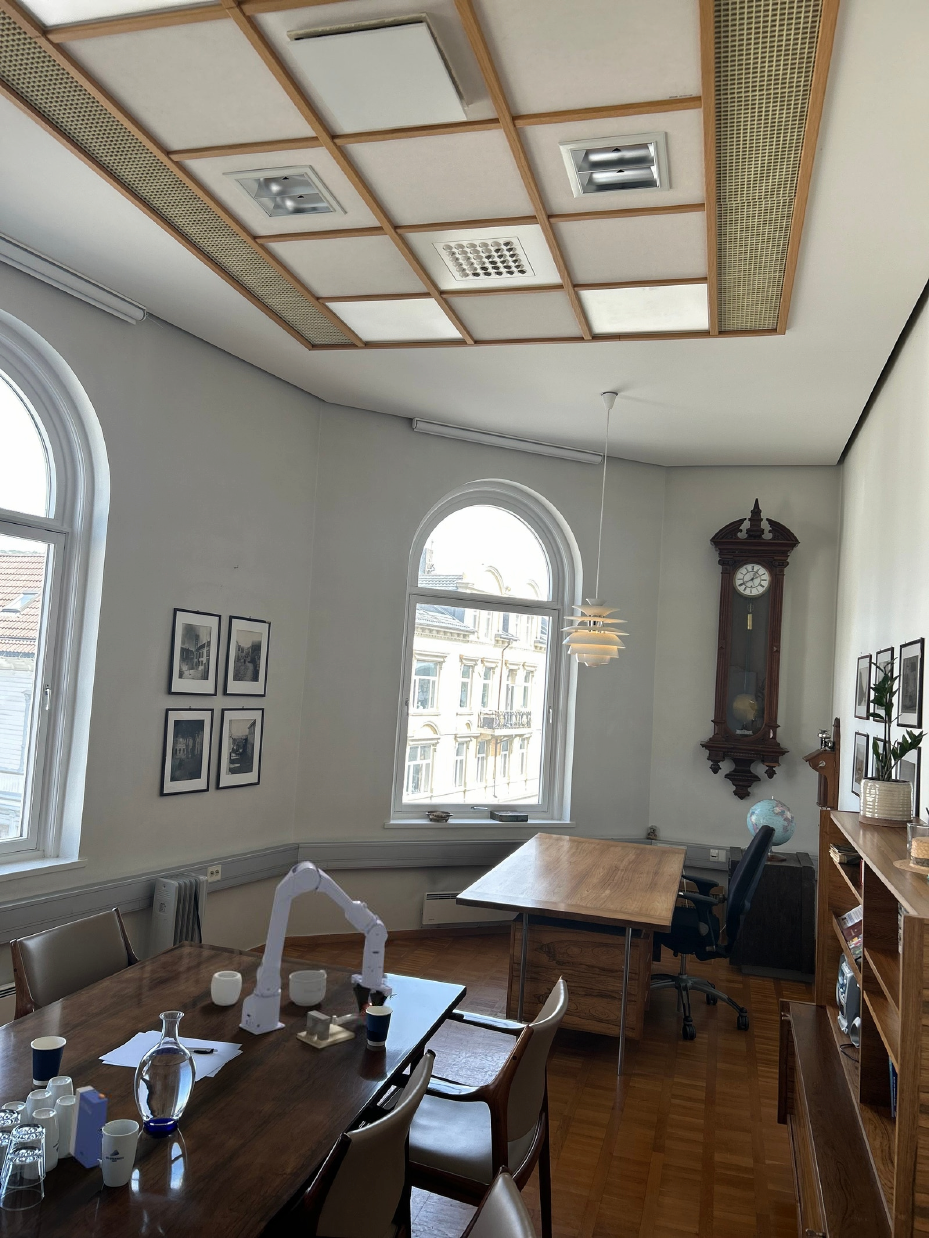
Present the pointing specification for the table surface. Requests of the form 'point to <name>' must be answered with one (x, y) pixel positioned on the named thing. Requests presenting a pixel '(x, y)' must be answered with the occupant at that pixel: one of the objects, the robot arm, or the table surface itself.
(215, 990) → the mug
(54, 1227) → the table surface
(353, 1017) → the hook rod
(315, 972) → the teacup
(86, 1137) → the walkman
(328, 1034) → the eye bracket
